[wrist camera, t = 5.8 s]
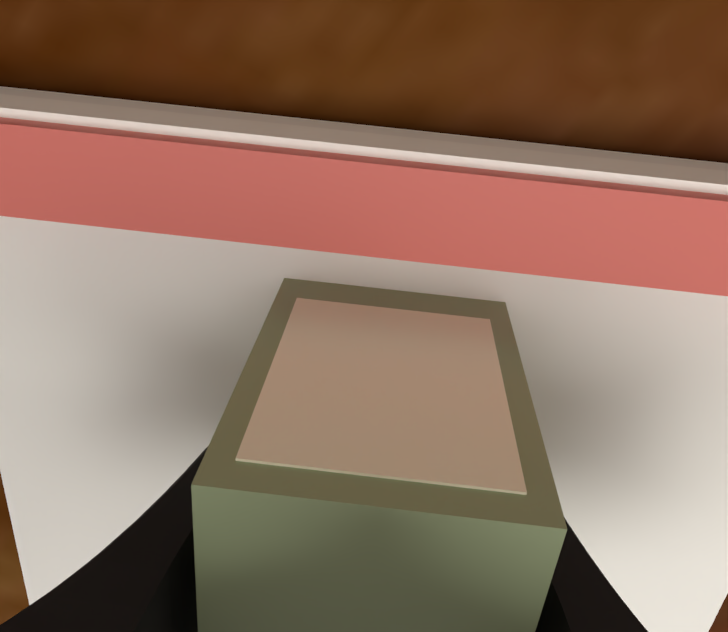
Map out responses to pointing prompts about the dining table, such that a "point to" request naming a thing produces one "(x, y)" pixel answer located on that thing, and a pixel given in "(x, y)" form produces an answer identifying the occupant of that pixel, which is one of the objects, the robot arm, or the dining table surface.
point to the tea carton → (377, 472)
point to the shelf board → (368, 269)
